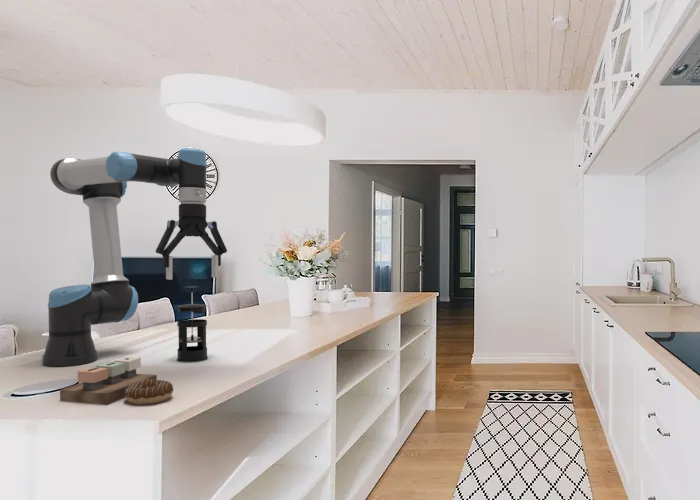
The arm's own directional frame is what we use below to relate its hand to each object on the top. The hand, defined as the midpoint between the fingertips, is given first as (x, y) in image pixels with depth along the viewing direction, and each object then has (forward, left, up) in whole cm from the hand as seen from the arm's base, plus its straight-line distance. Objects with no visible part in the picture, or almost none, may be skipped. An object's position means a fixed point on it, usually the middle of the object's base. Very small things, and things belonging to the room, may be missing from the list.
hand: (192, 278), depth 153 cm
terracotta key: (-7, -31, -22) cm, 39 cm away
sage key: (-7, -25, -22) cm, 34 cm away
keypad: (-7, -25, -26) cm, 37 cm away
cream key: (-7, -19, -22) cm, 30 cm away
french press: (-9, +15, -27) cm, 32 cm away
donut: (+6, -28, -27) cm, 39 cm away
